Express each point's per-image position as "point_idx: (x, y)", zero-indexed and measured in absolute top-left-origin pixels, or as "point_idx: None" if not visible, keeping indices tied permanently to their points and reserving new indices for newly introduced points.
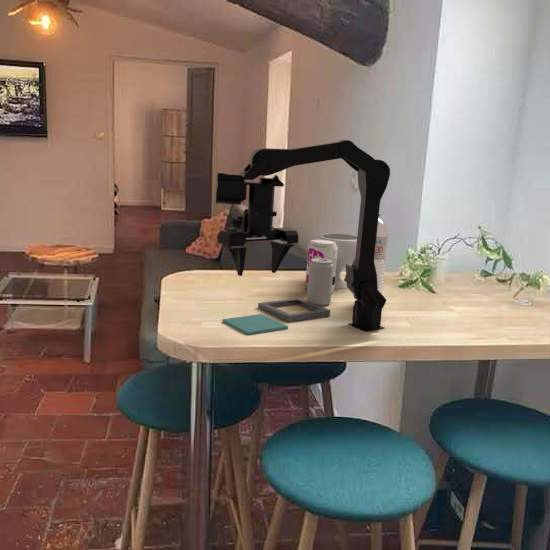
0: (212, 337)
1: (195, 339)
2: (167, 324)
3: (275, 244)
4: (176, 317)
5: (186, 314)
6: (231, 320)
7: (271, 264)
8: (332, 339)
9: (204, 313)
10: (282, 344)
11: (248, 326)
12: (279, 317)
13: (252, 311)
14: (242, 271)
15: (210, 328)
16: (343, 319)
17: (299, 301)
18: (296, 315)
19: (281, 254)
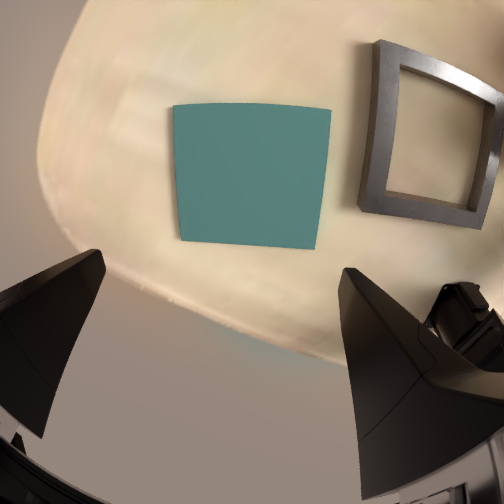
0: (105, 213)
1: (75, 209)
2: (56, 91)
3: (424, 455)
4: (91, 38)
5: (124, 15)
6: (192, 126)
7: (359, 293)
8: (337, 333)
9: (174, 13)
10: (224, 313)
11: (208, 199)
12: (365, 161)
13: (338, 52)
14: (93, 295)
15: (121, 149)
16: (468, 256)
17: (492, 113)
18: (389, 214)
19: (359, 431)
